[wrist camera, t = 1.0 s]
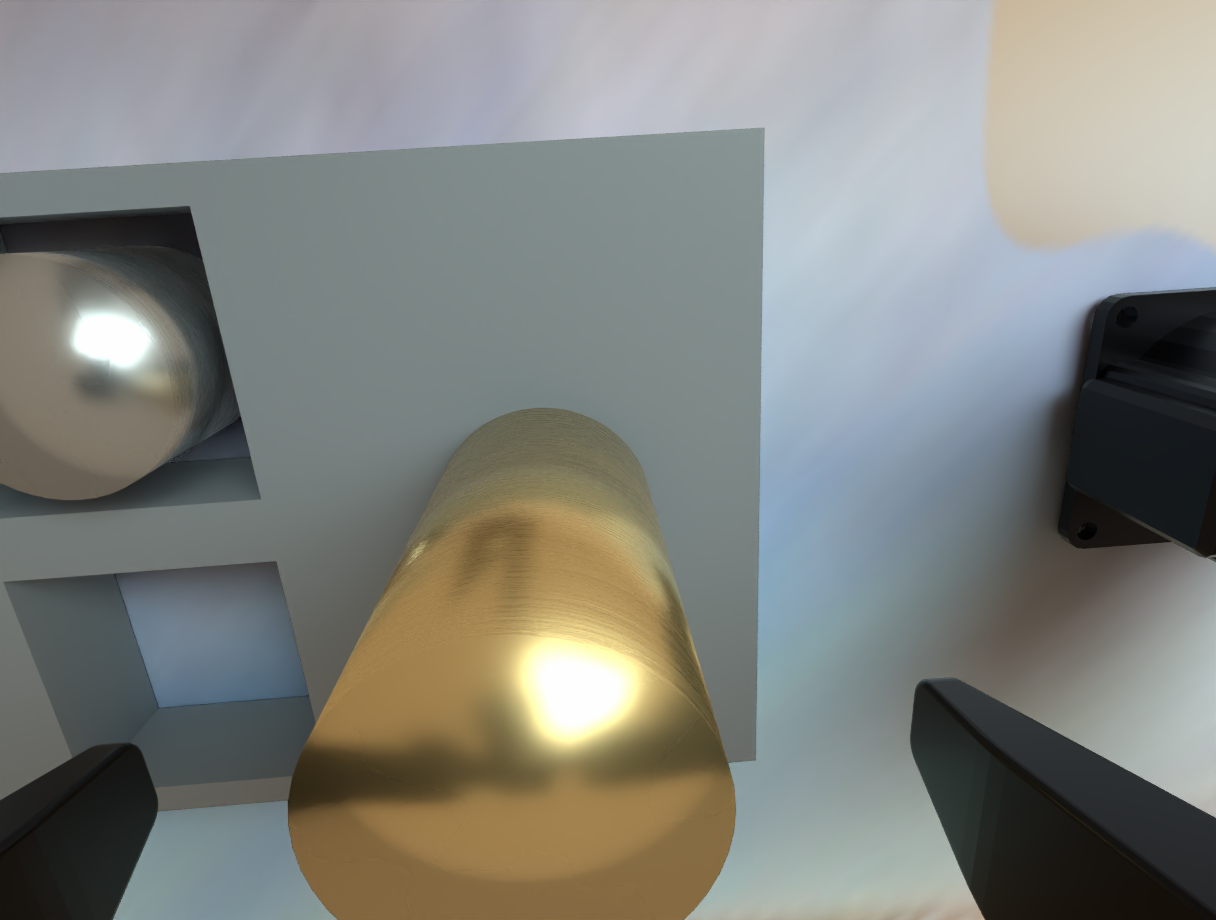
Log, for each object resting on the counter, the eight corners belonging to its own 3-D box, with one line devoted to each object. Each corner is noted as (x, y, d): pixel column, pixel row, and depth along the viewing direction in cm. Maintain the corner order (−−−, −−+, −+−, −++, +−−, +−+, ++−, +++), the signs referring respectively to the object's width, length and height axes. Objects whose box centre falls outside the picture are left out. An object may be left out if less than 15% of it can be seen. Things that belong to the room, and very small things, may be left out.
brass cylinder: (646, 400, 14) (736, 618, 6) (654, 594, 15) (736, 963, 8) (423, 415, 14) (240, 657, 6) (453, 609, 15) (335, 1001, 8)
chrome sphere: (241, 239, 15) (132, 245, 11) (284, 429, 17) (200, 490, 13) (38, 251, 15) (-140, 262, 11) (98, 442, 17) (-40, 508, 13)
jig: (728, 144, 15) (764, 127, 12) (729, 682, 20) (755, 760, 17) (-121, 196, 15) (-287, 190, 12) (84, 735, 19) (0, 824, 16)
